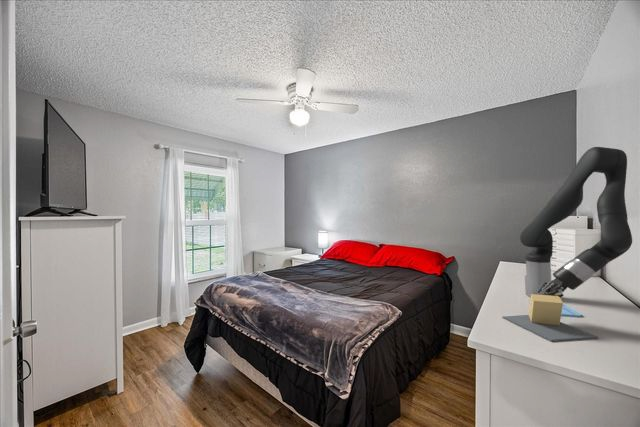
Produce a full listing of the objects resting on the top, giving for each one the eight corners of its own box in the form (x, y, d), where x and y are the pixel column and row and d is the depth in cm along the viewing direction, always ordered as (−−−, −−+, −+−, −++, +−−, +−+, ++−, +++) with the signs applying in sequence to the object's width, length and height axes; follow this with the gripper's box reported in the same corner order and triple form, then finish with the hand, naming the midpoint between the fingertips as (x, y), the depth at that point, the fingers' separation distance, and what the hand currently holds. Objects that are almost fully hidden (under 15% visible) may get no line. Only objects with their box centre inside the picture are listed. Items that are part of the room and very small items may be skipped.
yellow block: (531, 322, 97) (533, 300, 94) (528, 315, 100) (530, 294, 97) (559, 325, 94) (563, 303, 90) (555, 318, 97) (559, 296, 93)
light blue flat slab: (584, 318, 102) (584, 315, 102) (546, 316, 105) (546, 312, 105) (564, 307, 114) (563, 304, 114) (530, 305, 118) (530, 302, 118)
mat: (502, 318, 103) (502, 316, 103) (540, 315, 105) (540, 314, 105) (551, 341, 84) (550, 339, 84) (597, 338, 85) (597, 336, 85)
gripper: (556, 263, 103) (519, 291, 108) (571, 269, 91) (529, 301, 96) (575, 277, 101) (536, 306, 106) (592, 286, 89) (548, 318, 94)
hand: (533, 304), depth 101 cm, fingers closed
